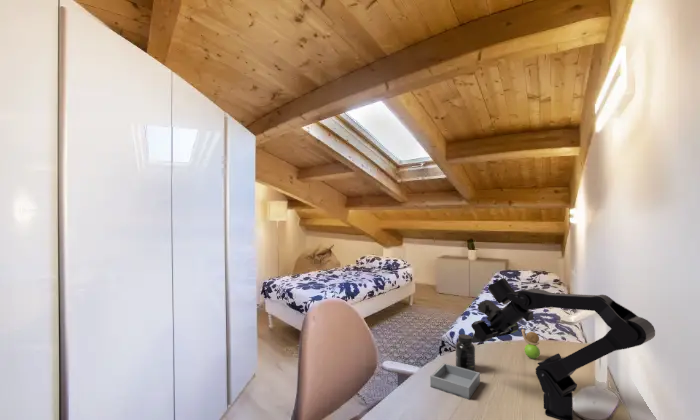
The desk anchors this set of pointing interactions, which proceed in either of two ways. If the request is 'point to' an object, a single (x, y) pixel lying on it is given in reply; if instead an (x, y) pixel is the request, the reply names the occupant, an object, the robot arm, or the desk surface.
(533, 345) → the snail figurine
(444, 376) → the box
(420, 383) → the desk surface
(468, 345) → the supplement bottle
